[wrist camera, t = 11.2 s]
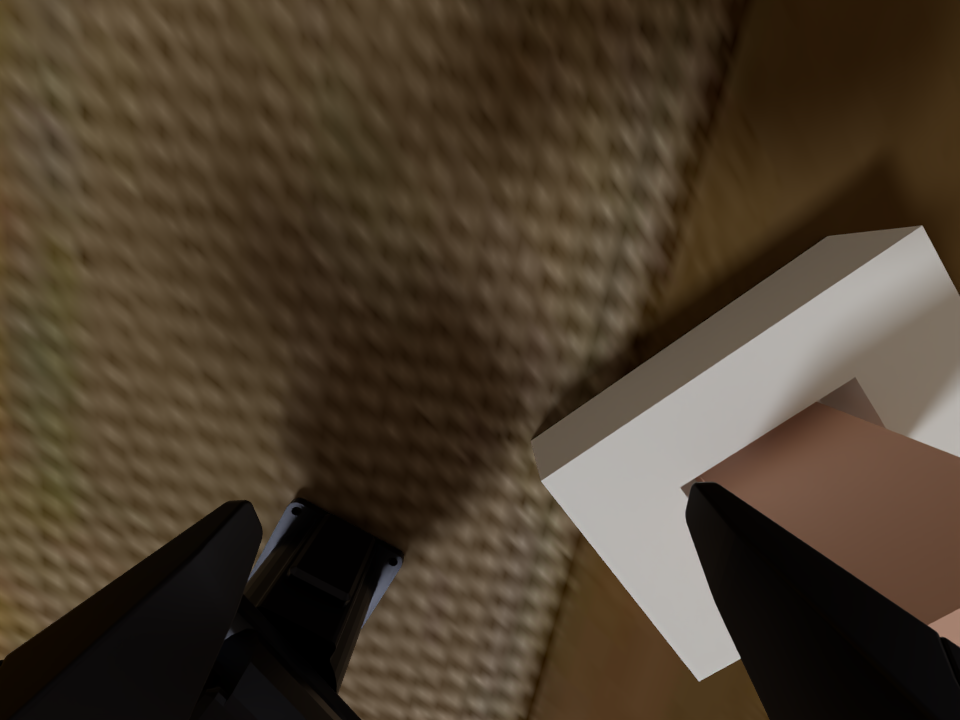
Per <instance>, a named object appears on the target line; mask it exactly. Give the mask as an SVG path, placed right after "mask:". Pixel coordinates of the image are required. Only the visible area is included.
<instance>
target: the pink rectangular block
mask: <svg viewBox="0 0 960 720" xmlns="http://www.w3.org/2000/svg"><path fill="white" fill-rule="evenodd" d="M695 479H696V481H697V482H716V483H718V484H720V485H721V486H723V487H724V488H726V489H727V490H728V491H730V492H731V493H733V494H734V495H736V496H737V497H739V498H740V499H742V500H743V501H745V502H746V503H748V504H749V505H751V506H752V507H754V508H755V509H757V510H758V511H759V512H761V513H762V514H764V515H765V516H767V517H768V518H770V519H771V520H773V521H774V522H776V523H777V524H779V525H780V526H782V527H783V528H785V529H786V530H788V531H789V532H790V533H792V534H793V535H795V536H796V537H798V538H799V539H801V540H802V541H804V542H805V543H807V544H808V545H810V546H811V547H813V548H814V549H816V550H817V551H818V552H820V553H821V554H823V555H824V556H826V557H827V558H829V559H830V560H832V561H833V562H835V563H836V564H838V565H839V566H841V567H842V568H844V569H845V570H847V571H848V572H849V573H851V574H852V575H854V576H855V577H857V578H858V579H860V580H861V581H863V582H864V583H866V584H867V585H869V586H870V587H872V588H873V589H875V590H876V591H878V592H879V593H880V594H882V595H883V596H885V597H886V598H888V599H889V600H891V601H892V602H894V603H895V604H897V605H898V606H900V607H901V608H903V609H904V610H906V611H907V612H909V613H910V614H911V615H913V616H914V617H916V618H917V619H919V620H920V621H922V622H923V623H925V624H926V625H928V626H929V627H931V628H932V629H934V630H935V631H936V632H938V634H939V636H940V637H945V638H947V639H949V640H950V641H952V642H953V643H955V644H956V645H958V646H959V647H960V457H958V456H955V455H953V454H950V453H948V452H945V451H942V450H940V449H937V448H935V447H932V446H930V445H927V444H924V443H922V442H919V441H917V440H914V439H912V438H909V437H906V436H904V435H901V434H899V433H896V432H894V431H891V430H888V429H886V428H883V427H881V426H878V425H875V424H873V423H870V422H868V421H865V420H863V419H860V418H857V417H855V416H852V415H850V414H847V413H845V412H842V411H839V410H837V409H834V408H832V407H829V406H827V405H824V404H821V403H819V402H815V403H813V404H812V405H810V406H809V407H807V408H805V409H804V410H802V411H801V412H799V413H797V414H796V415H794V416H793V417H791V418H789V419H788V420H786V421H785V422H783V423H782V424H780V425H778V426H777V427H775V428H774V429H772V430H770V431H769V432H767V433H766V434H764V435H763V436H761V437H759V438H758V439H756V440H755V441H753V442H751V443H750V444H748V445H747V446H745V447H744V448H742V449H740V450H739V451H737V452H736V453H734V454H732V455H731V456H729V457H728V458H726V459H725V460H723V461H721V462H720V463H718V464H717V465H715V466H713V467H712V468H710V469H709V470H707V471H706V472H704V473H702V474H701V475H699V476H698V477H696V478H695Z"/></svg>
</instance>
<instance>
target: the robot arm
mask: <svg viewBox="0 0 960 720" xmlns="http://www.w3.org/2000/svg"><path fill="white" fill-rule="evenodd" d="M295 507H299V508H300V509H301V512H300V511H297V510H296V508H295ZM685 518H686V523H687V526H688V529H689V532H690V535H691V538H692V541H693V543H694V546H695V549H696V552H697V555H698V557H699V560H700V563H701V566H702V569H703V572H704V574H705V577H706V580H707V583H708V586H709V589H710V591H711V594H712V596H713V599H714V602H715V604H716V606H717V608H718V611H719V613H720V615H721V617H722V619H723V622H724V624H725V626H726V628H727V630H728V632H729V634H730V636H731V639H732V641H733V643H734V645H735V647H736V649H737V651H738V653H739V655H740V658H741V660H742V662H743V664H744V666H745V668H746V670H747V672H748V675H749V677H750V679H751V681H752V683H753V685H754V687H755V689H756V692H757V694H758V696H759V698H760V700H761V702H762V704H763V706H764V709H765V711H766V713H767V715H768V717H769V719H770V720H960V647H959V646H958V645H956V644H955V643H953V642H952V641H950V640H949V639H947V638H945V637H940V636H939V634H938V632H936V631H935V630H934V629H932V628H931V627H929V626H928V625H926V624H925V623H923V622H922V621H920V620H919V619H917V618H916V617H914V616H913V615H911V614H910V613H909V612H907V611H906V610H904V609H903V608H901V607H900V606H898V605H897V604H895V603H894V602H892V601H891V600H889V599H888V598H886V597H885V596H883V595H882V594H880V593H879V592H878V591H876V590H875V589H873V588H872V587H870V586H869V585H867V584H866V583H864V582H863V581H861V580H860V579H858V578H857V577H855V576H854V575H852V574H851V573H849V572H848V571H847V570H845V569H844V568H842V567H841V566H839V565H838V564H836V563H835V562H833V561H832V560H830V559H829V558H827V557H826V556H824V555H823V554H821V553H820V552H818V551H817V550H816V549H814V548H813V547H811V546H810V545H808V544H807V543H805V542H804V541H802V540H801V539H799V538H798V537H796V536H795V535H793V534H792V533H790V532H789V531H788V530H786V529H785V528H783V527H782V526H780V525H779V524H777V523H776V522H774V521H773V520H771V519H770V518H768V517H767V516H765V515H764V514H762V513H761V512H759V511H758V510H757V509H755V508H754V507H752V506H751V505H749V504H748V503H746V502H745V501H743V500H742V499H740V498H739V497H737V496H736V495H734V494H733V493H731V492H730V491H728V490H727V489H726V488H724V487H723V486H721V485H720V484H718V483H716V482H695V483H693V484H692V486H691V488H690V493H689V497H688V502H687V506H686V511H685ZM262 534H263V531H262V526H261V523H260V521H259V519H258V517H257V514H256V512H255V510H254V507H253V505H252V503H251V502H249V501H247V500H236V501H228V502H226V503H224V504H223V505H221V506H220V507H218V508H217V509H216V510H214V511H213V512H211V513H210V514H208V515H207V516H206V517H204V518H203V519H201V520H200V521H198V522H197V523H196V524H194V525H193V526H191V527H190V528H188V529H187V530H185V531H184V532H183V533H181V534H180V535H178V536H177V537H175V538H174V539H173V540H171V541H170V542H168V543H167V544H165V545H164V546H163V547H161V548H160V549H158V550H157V551H155V552H154V553H153V554H151V555H150V556H148V557H147V558H145V559H144V560H143V561H141V562H140V563H138V564H137V565H135V566H134V567H133V568H131V569H130V570H128V571H127V572H125V573H124V574H123V575H121V576H120V577H118V578H117V579H115V580H114V581H113V582H111V583H110V584H108V585H107V586H105V587H104V588H103V589H101V590H100V591H98V592H97V593H95V594H94V595H93V596H91V597H90V598H88V599H87V600H85V601H84V602H83V603H81V604H80V605H78V606H77V607H75V608H74V609H73V610H71V611H70V612H68V613H67V614H65V615H64V616H62V617H61V618H60V619H58V620H57V621H55V622H54V623H52V624H51V625H50V626H48V627H47V628H45V629H44V630H42V631H41V632H40V633H38V634H37V635H35V636H34V637H32V638H31V639H30V640H28V641H27V642H25V643H24V644H22V645H21V646H20V647H18V648H17V649H15V650H14V651H12V652H11V653H10V654H8V655H7V656H6V657H5V659H4V660H0V720H361V719H360V718H359V717H358V716H357V715H356V713H355V712H354V711H353V710H352V709H351V708H350V707H349V706H348V705H347V704H346V703H345V702H344V701H343V700H342V699H341V697H340V696H339V695H338V692H339V689H340V687H341V684H342V681H343V678H344V675H345V673H346V670H347V667H348V664H349V661H350V659H351V656H352V653H353V650H354V647H355V645H356V642H357V639H358V636H359V633H360V631H361V629H362V627H363V626H364V624H365V622H366V621H367V619H368V618H369V616H370V615H371V613H372V611H373V610H374V608H375V607H376V605H377V604H378V602H379V600H380V599H381V597H382V596H383V594H384V593H385V591H386V590H387V588H388V586H389V585H390V583H391V582H392V580H393V579H394V577H395V575H396V574H397V572H398V571H399V569H400V568H401V566H402V563H403V560H404V554H403V553H402V551H400V550H399V549H397V548H395V547H393V546H391V545H390V544H388V543H386V542H384V541H382V540H380V539H378V538H376V537H374V536H373V535H371V534H369V533H367V532H365V531H364V530H362V529H360V528H358V527H356V526H354V525H352V524H350V523H348V522H347V521H345V520H343V519H341V518H339V517H337V516H335V515H333V514H331V513H329V512H327V511H325V510H323V509H322V508H320V507H318V506H316V505H314V504H312V503H310V502H308V501H306V500H305V499H302V498H296V499H294V500H293V501H292V502H291V503H290V504H289V505H288V507H287V508H286V510H285V512H284V514H283V516H282V518H281V519H280V521H279V523H278V525H277V527H276V528H275V530H274V532H273V534H272V536H271V538H270V539H269V541H268V543H267V545H266V547H265V548H264V550H263V552H262V554H261V556H260V558H259V559H258V561H257V563H256V565H255V567H254V568H253V570H252V572H251V569H252V566H253V563H254V560H255V557H256V555H257V552H258V549H259V546H260V543H261V540H262ZM390 558H396V559H397V561H392V560H391V559H390ZM250 572H251V574H250ZM249 575H250V576H249Z"/></svg>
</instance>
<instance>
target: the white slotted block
mask: <svg viewBox="0 0 960 720" xmlns="http://www.w3.org/2000/svg"><path fill="white" fill-rule="evenodd" d="M815 402H819V403H821V404H824V405H827V406H829V407H832V408H834V409H837V410H839V411H842V412H845V413H847V414H850V415H852V416H855V417H857V418H860V419H863V420H865V421H868V422H870V423H873V424H875V425H878V426H881V427H883V428H886V429H888V430H891V431H894V432H896V433H899V434H901V435H904V436H906V437H909V438H912V439H914V440H917V441H919V442H922V443H924V444H927V445H930V446H932V447H935V448H937V449H940V450H942V451H945V452H948V453H950V454H953V455H955V456H958V457H960V296H959V294H958V292H957V290H956V288H955V286H954V284H953V283H952V281H951V279H950V277H949V275H948V273H947V271H946V269H945V267H944V265H943V264H942V262H941V260H940V258H939V256H938V254H937V252H936V250H935V248H934V247H933V245H932V243H931V241H930V239H929V237H928V235H927V233H926V231H925V230H924V228H923V226H913V227H904V228H895V229H886V230H877V231H869V232H860V233H851V234H842V235H833V236H827V237H826V238H824V239H823V240H821V241H820V242H818V243H817V244H815V245H814V246H813V247H811V248H810V249H808V250H807V251H805V252H804V253H802V254H801V255H800V256H798V257H797V258H795V259H794V260H792V261H791V262H789V263H788V264H786V265H785V266H784V267H782V268H781V269H779V270H778V271H776V272H775V273H773V274H772V275H771V276H769V277H768V278H766V279H765V280H763V281H762V282H760V283H759V284H757V285H756V286H755V287H753V288H752V289H750V290H749V291H747V292H746V293H744V294H743V295H742V296H740V297H739V298H737V299H736V300H734V301H733V302H731V303H730V304H728V305H727V306H726V307H724V308H723V309H721V310H720V311H718V312H717V313H715V314H714V315H713V316H711V317H710V318H708V319H707V320H705V321H704V322H702V323H701V324H699V325H698V326H697V327H695V328H694V329H692V330H691V331H689V332H688V333H686V334H685V335H684V336H682V337H681V338H679V339H678V340H676V341H675V342H673V343H672V344H670V345H669V346H668V347H666V348H665V349H663V350H662V351H660V352H659V353H657V354H656V355H655V356H653V357H652V358H650V359H649V360H647V361H646V362H644V363H643V364H641V365H640V366H639V367H637V368H636V369H634V370H633V371H631V372H630V373H628V374H627V375H626V376H624V377H623V378H621V379H620V380H618V381H617V382H615V383H614V384H612V385H611V386H610V387H608V388H607V389H605V390H604V391H602V392H601V393H599V394H598V395H597V396H595V397H594V398H592V399H591V400H589V401H588V402H586V403H585V404H583V405H582V406H581V407H579V408H578V409H576V410H575V411H573V412H572V413H570V414H569V415H568V416H566V417H565V418H563V419H562V420H560V421H559V422H557V423H556V424H554V425H553V426H552V427H550V428H549V429H547V430H546V431H544V432H543V433H541V434H540V435H539V436H537V437H536V438H534V439H533V440H531V444H532V448H533V452H534V456H535V460H536V464H537V468H538V472H539V475H540V479H541V482H542V483H543V484H544V486H545V487H546V488H547V489H548V491H549V492H550V493H551V494H552V496H553V497H554V498H555V500H556V501H557V502H558V503H559V505H560V506H561V507H562V508H563V510H564V511H565V512H566V513H567V515H568V516H569V517H570V519H571V520H572V521H573V522H574V524H575V525H576V526H577V527H578V529H579V530H580V531H581V532H582V534H583V535H584V536H585V538H586V539H587V540H588V541H589V543H590V544H591V545H592V546H593V548H594V549H595V550H596V551H597V553H598V554H599V555H600V557H601V558H602V559H603V560H604V562H605V563H606V564H607V565H608V567H609V568H610V569H611V570H612V572H613V573H614V574H615V576H616V577H617V578H618V579H619V581H620V582H621V583H622V584H623V586H624V587H625V588H626V589H627V591H628V592H629V593H630V595H631V596H632V597H633V598H634V600H635V601H636V602H637V603H638V605H639V606H640V607H641V608H642V610H643V611H644V612H645V614H646V615H647V616H648V617H649V619H650V620H651V621H652V622H653V624H654V625H655V626H656V628H657V629H658V630H659V631H660V633H661V634H662V635H663V636H664V638H665V639H666V640H667V641H668V643H669V644H670V645H671V647H672V648H673V649H674V650H675V652H676V653H677V654H678V655H679V657H680V658H681V659H682V660H683V662H684V663H685V664H686V666H687V667H688V668H689V669H690V671H691V672H692V673H693V674H694V676H695V677H696V678H697V679H698V681H701V680H703V679H704V678H706V677H708V676H710V675H712V674H713V673H715V672H717V671H719V670H721V669H723V668H724V667H726V666H728V665H730V664H732V663H733V662H735V661H737V660H739V659H741V658H740V655H739V653H738V651H737V649H736V647H735V645H734V643H733V641H732V639H731V636H730V634H729V632H728V630H727V628H726V626H725V624H724V622H723V619H722V617H721V615H720V613H719V611H718V608H717V606H716V604H715V602H714V599H713V596H712V594H711V591H710V589H709V586H708V583H707V580H706V577H705V574H704V572H703V569H702V566H701V563H700V560H699V557H698V555H697V552H696V549H695V546H694V543H693V541H692V538H691V535H690V532H689V529H688V526H687V523H686V518H685V511H686V506H687V502H688V497H689V493H690V488H691V486H692V484H693V483H695V482H697V481H696V479H695V478H696V477H698V476H699V475H701V474H702V473H704V472H706V471H707V470H709V469H710V468H712V467H713V466H715V465H717V464H718V463H720V462H721V461H723V460H725V459H726V458H728V457H729V456H731V455H732V454H734V453H736V452H737V451H739V450H740V449H742V448H744V447H745V446H747V445H748V444H750V443H751V442H753V441H755V440H756V439H758V438H759V437H761V436H763V435H764V434H766V433H767V432H769V431H770V430H772V429H774V428H775V427H777V426H778V425H780V424H782V423H783V422H785V421H786V420H788V419H789V418H791V417H793V416H794V415H796V414H797V413H799V412H801V411H802V410H804V409H805V408H807V407H809V406H810V405H812V404H813V403H815Z"/></svg>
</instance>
